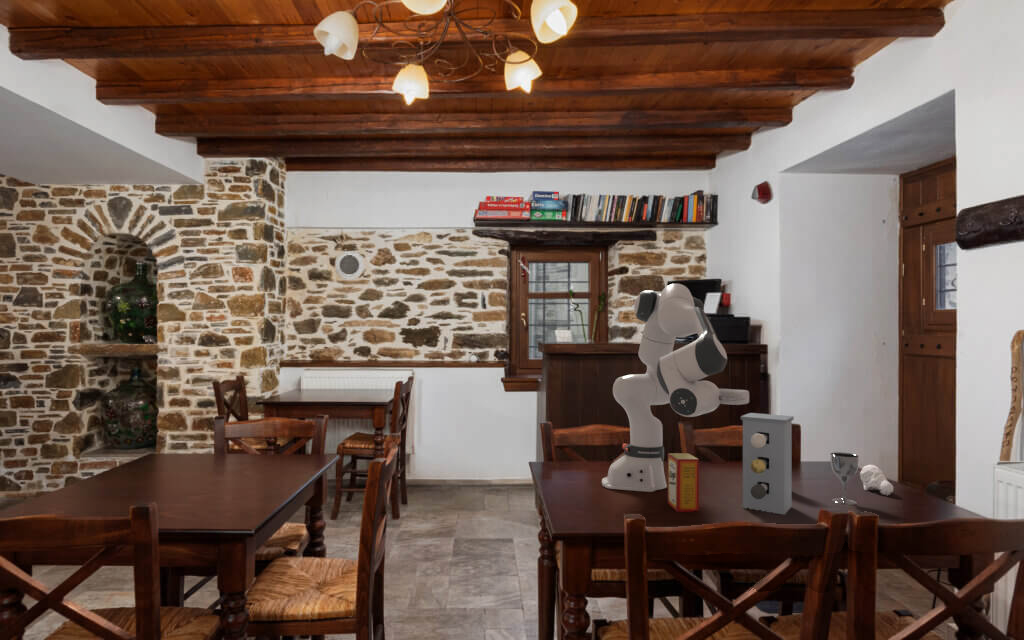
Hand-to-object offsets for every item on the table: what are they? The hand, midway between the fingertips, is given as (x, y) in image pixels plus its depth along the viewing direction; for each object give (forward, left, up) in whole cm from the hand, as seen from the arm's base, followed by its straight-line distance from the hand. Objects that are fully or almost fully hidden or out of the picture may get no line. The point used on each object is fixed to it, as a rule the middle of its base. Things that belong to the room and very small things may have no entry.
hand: (718, 393), depth 181 cm
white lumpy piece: (+62, +36, -36) cm, 80 cm away
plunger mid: (+14, +6, -24) cm, 28 cm away
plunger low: (+14, +6, -31) cm, 35 cm away
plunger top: (+14, +6, -16) cm, 22 cm away
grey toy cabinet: (+18, +12, -36) cm, 42 cm away
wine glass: (+45, +22, -36) cm, 62 cm away
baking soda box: (-8, +9, -36) cm, 38 cm away
